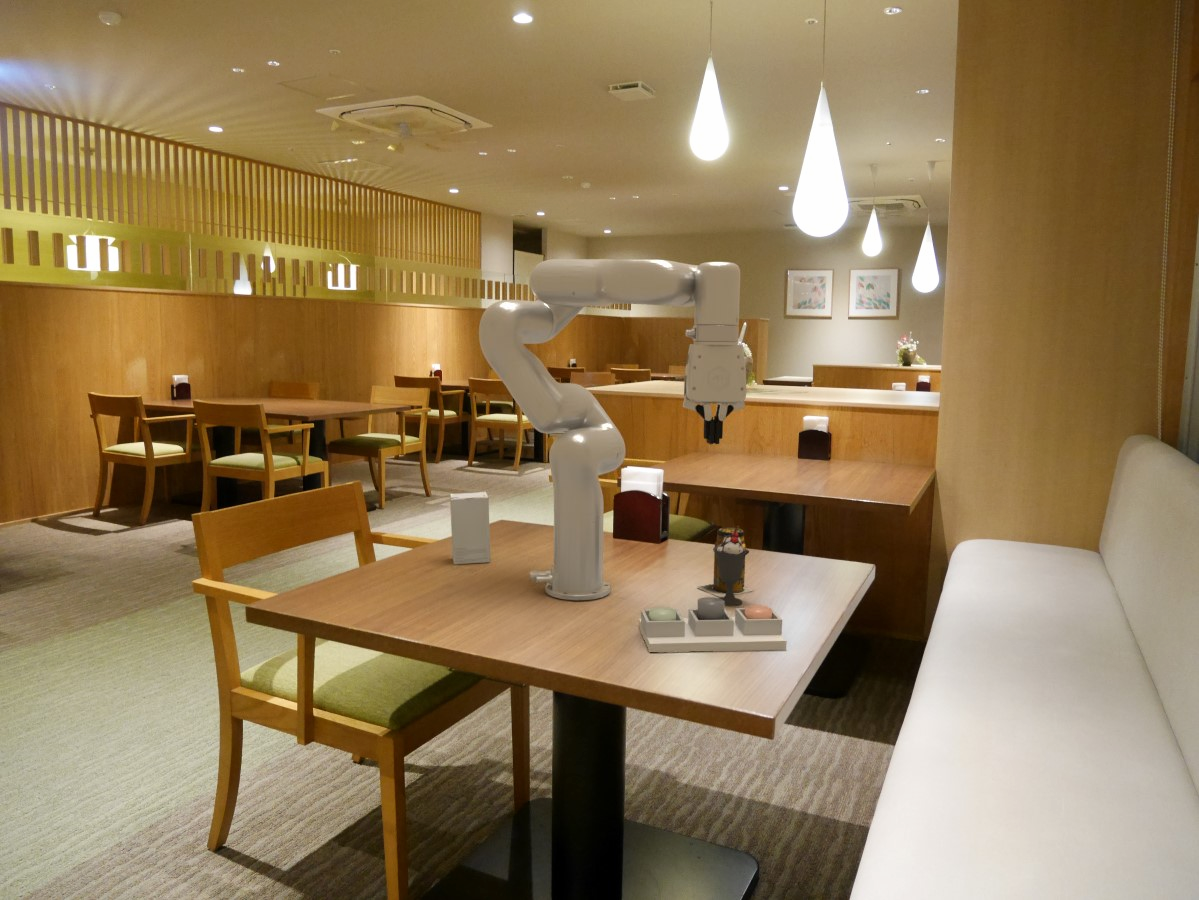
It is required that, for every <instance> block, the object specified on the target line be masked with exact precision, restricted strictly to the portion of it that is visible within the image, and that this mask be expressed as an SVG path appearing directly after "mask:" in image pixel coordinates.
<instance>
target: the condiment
mask: <svg viewBox="0 0 1199 900" xmlns="http://www.w3.org/2000/svg"><path fill="white" fill-rule="evenodd" d="M736 528H737V527H721V528H718V529H717V532H716V534H717V536H716V541H715V542H714V547H716V546H720V545H721V544H722V542H723V539H724V536H725V535H727V536H728V535H732V533H734V531H735V529H736ZM735 532H736V533H738V537H739V538H740V540H741V543H742V545H743V547H744V548H746V549H747V547H746V544H745V531H744V530H743V529H741V528H738V529H737V530H736V531H735ZM713 553H714V554H713V555H714V557H713V559H714V561H713V583H710V584H706V585H699V586H697V588H698V589H700V590H701V591H705V592H706V593H708V594H711V595H714V596H717V597H718V598H722V597H725V595H726V592H727V585H726V583H725V582H724V581H722V579H721V578H720V575H719V569H718V559H717V554H716V553H715V552H714V551H713ZM745 568H746V558H745V559H744V564H743V571H742V575H741V578H740V579H739V581H738V582H736V583H735V584H734V585H733V594H734V595H740V594H745V593H746V594H747V593H750V592H753V591H754V589H750V588H748V587H745V577H746V576H745V574H746V569H745Z"/></svg>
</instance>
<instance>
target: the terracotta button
mask: <svg viewBox="0 0 1199 900" xmlns="http://www.w3.org/2000/svg"><path fill="white" fill-rule="evenodd" d="M744 608H745V617H746V619H772V609H773V608H772V607H769V606H766V605H761V604H753V605H752V604H751V605H747V606H745V607H744ZM771 608H772V609H771Z"/></svg>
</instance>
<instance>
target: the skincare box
mask: <svg viewBox="0 0 1199 900" xmlns="http://www.w3.org/2000/svg"><path fill="white" fill-rule="evenodd" d="M489 501H490V498H489V494H487V491H478V492H464V493H450V495H449V502H450V503H449V505H450V509H449V510H450V528H451V529H450V530H451V550H452V560H453V565H454V566H455V565H465V564H467V565H468V564H479V563H480V564H481V563H490V562H491V561H492V560H491V540H490V539H491V534H490V533H491V532H490V531H491V530H490V504H489V503H490V502H489Z"/></svg>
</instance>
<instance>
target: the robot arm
mask: <svg viewBox="0 0 1199 900" xmlns="http://www.w3.org/2000/svg"><path fill="white" fill-rule="evenodd" d="M528 281H529V288H530V290H531V293H532V294H533V296H534V297H535V298H536V300H535V301H534V300H524V299H523V300H521V299H505V300H498V301H496V302H494V303H492V304H490V305H488V307H487V308H486V309H485V310H484V311H483V313H482V315H481V318H480V321H479V325H478V326H479V328H478V340H479V345H480V349H481V352H482V354H483V356H484V358H485V360H486V362H487V363H488V364H489V366H490V367H491V368H492V370H493V371H494V373H495V374H496V375H497V377H498V378H499V379H500V380H501V381H502V383H503V384H504V386H505V387H506V389H507V391H508V392H509V394H510V395H511V397H512V398H513V399H514V401H515V402H516V404H517V405H518V407H519V409H520V410H521V411H522V413H523V414H524V416H525V417H526V419H527V420H528V422H529V423H530V424H531V426H532V427H533V428H534V430H536V431H537V432H539V433H542V434H549V435H550V434H551V435H552V434H558V433H561V434H560V435H558V436H557V438H555V440H554V441H553V442H552V444H551V446H550V449H549V450H550V451H549V455H548V456H549V457H548V458H549V459H548V460H549V468H550V473H551V479H552V486H553V487H552V489H553V564H551V568H550V569H549V568H547V569H546V570H543V571H542V570H541V571H540V570H530V571H529V572H530V573H529V581H530V582H535V581H536V584H543V583H546V585H545V593H546V594H547V595H548V596H551V597H553V598H556V599H561V600H565V601H566V600H567V601H591V600H597V599H602V598H605V597H606V596H608V595H609V594H610V593H611V592H612V590H611V584H610V583H609V582H608V581H605V580H604V577H603V576H604V575H603V574H604V573H603V571H604V563H603V562H604V506H605V505H604V494H603V490H602V487H601V483H600V479H599V476H601V475H605V474H608V473H611V472H614V471H616V470H617V469H618V468H620V466H621V465H622V464H623V463H624V460H625V459H626V454H627V453H626V445H625V439H624V437H623V436H622V434H621V432H620V430H619V429H618V428H617V426H616V425H615V424H614V422H613V421H612V419H611V417H610V416H609V415H608V413H607V412H606V411H605V409H604V408H603V406H601V404H600V402H599V401H598V399H597V398H596V397H595V396H594V394H592V392H590V391H589V390H588V389H587V388H585V387H584V386H582V385H580V384H578V383H570V382H569V383H568V382H567V383H560V382H558V381H557V380H556V379H555V378H554V377H553V376H552V375H551V374H550V372H549V371H548V369H547V368H546V367H545V365H544V363H543V361H541V360H540V358H539V357H537V355H535V354H534V353H533V352H532V351H531V350H530V349H528V348H527V347H526V345H525V344H527V345H529V344H530V345H531V344H532V345H533V344H535V345H536V344H537V345H538V344H544V343H547V342H549V341H551V340H553V338H555V337H556V336H558V334H560V332H562V330H563V329H564V328H565V327H566V326H567V325H569V323H570V322H571V321H573V319H574V318H576V317H577V315H578V314H579V313H580V312H581V311H582V310H583V309H584V308H585V307H601V308H602V307H603V308H605V307H611V306H612V305H614V304H615V305H616V304H618V305H619V304H623V305H624V304H625V305H626V304H628V305H630V304H631V305H646V306H647V305H649V306H651V305H652V306H665V307H667V306H668V307H675V308H676V307H677V308H688V307H694V317H693V318H694V324H693V325H692V328H689V329H688V328H686V329H685V337H686V338H690V339H692V341H693V344H692V343H690V344H689V348H688V352H687V356H686V357H687V358H686V363H685V372H684V382H683V384H684V385H683V396H684V399H683V403H682V407H683V408H684V409H687V410H690V411H694V412H696V413H697V414H698V415H699V417H701V418H702V419H703V439H704V440H705V441H706V443H707V444H709V445H713V444H715V445H720V440H722V439H723V430H724V429H723V428H724V421H725V420H726V418H728V416H729V415H731V414H732V412H736V411H740V410H744V409H745V408H746V403H745V400H746V398H747V369H746V368H747V367H746V358H745V357H746V355H745V350H744V345H743V344H739V332H740V331H739V328H740V327H739V323H740V319H739V318H740V301H741V299H740V295H741V294H740V293H741V268H740V267H739V265H738V264H736V263H734V262H729V261H708V262H707V261H706V262H703V263H699V265H696V264H689V263H684V262H679V261H678V262H677V261H674V260H673V261H672V260H667V259H631V258H630V259H611V258H609V259H608V258H599V259H598V258H596V259H595V258H593V259H591V258H589V259H588V258H579V259H578V258H554V259H552V258H551V259H547V260H543V261H541V262H539V263H538V264H537V265H535V266H534V267H533V269H532V270H531V272H530V275H529V280H528ZM711 404H716V410H715V415H714V416H713V415H712V414H713V413H712V407H711Z"/></svg>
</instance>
